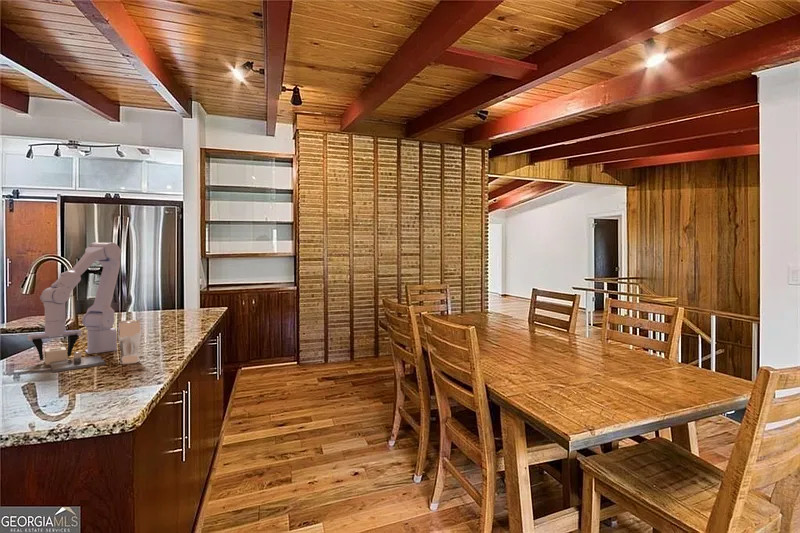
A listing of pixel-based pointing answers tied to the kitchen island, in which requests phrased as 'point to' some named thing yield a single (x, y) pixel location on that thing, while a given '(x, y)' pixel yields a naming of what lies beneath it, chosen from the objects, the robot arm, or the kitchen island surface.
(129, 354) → the beer glass
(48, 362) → the block
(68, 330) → the robot arm
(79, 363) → the flat plate
